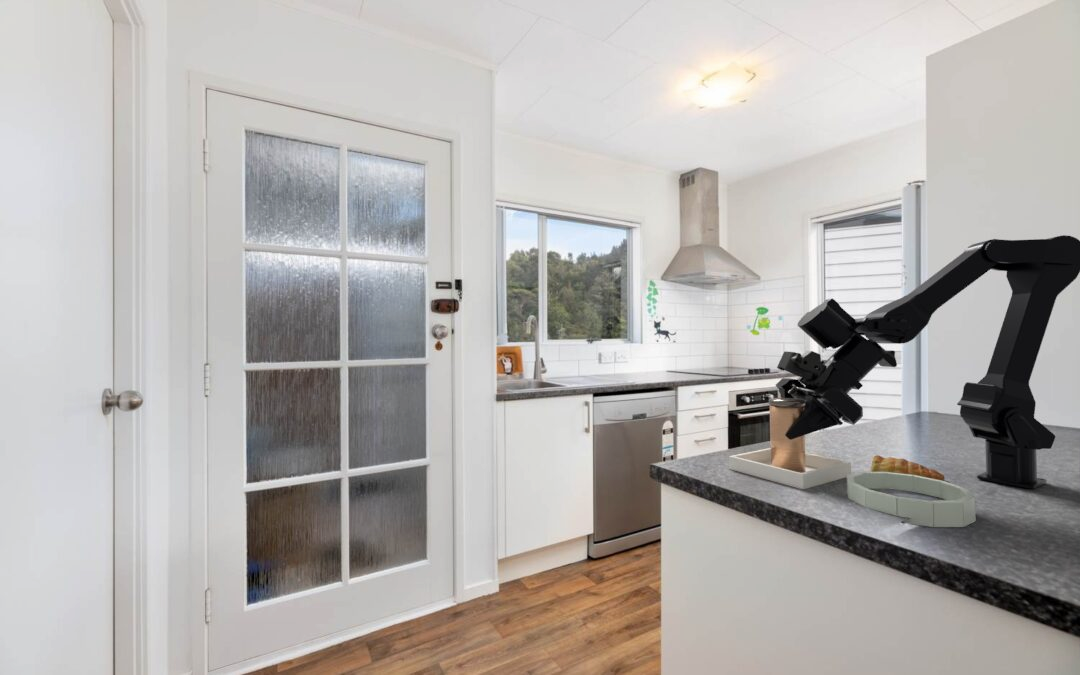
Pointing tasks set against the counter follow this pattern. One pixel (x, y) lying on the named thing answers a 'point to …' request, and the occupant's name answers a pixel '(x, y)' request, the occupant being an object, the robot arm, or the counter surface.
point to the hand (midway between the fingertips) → (778, 433)
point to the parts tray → (816, 470)
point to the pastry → (903, 467)
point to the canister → (781, 419)
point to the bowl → (920, 512)
